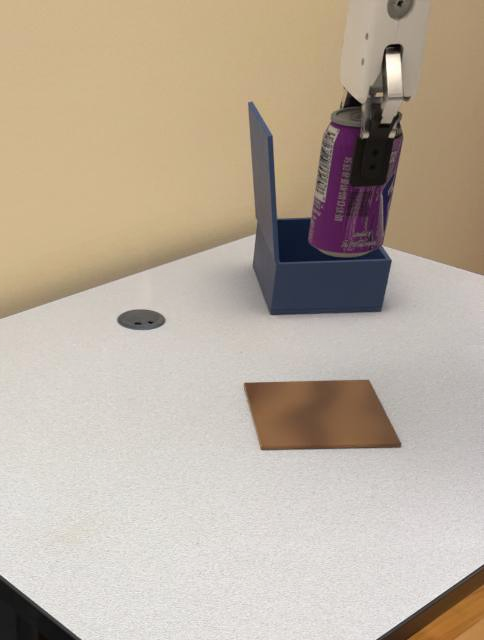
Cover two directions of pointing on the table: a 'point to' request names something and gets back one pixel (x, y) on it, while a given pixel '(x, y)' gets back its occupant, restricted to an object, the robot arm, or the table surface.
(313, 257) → the box
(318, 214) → the beverage can
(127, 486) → the table surface
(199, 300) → the table surface
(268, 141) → the lunchbox lid
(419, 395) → the table surface
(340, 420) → the cork mat
